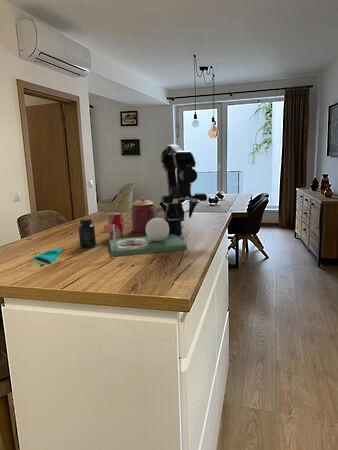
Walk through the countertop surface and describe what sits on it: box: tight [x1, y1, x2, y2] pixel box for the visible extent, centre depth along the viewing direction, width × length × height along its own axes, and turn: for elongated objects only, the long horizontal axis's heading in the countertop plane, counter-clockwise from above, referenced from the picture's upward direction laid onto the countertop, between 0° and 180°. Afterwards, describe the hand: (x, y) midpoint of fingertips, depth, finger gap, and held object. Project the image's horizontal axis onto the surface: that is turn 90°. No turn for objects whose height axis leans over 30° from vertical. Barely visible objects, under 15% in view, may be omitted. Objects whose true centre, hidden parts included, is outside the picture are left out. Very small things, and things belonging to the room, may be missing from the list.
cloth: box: [31, 247, 65, 267], centre depth 131 cm, size 26×14×2 cm, turn 172°
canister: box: [130, 196, 157, 234], centre depth 173 cm, size 13×13×18 cm
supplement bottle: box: [78, 218, 97, 249], centre depth 144 cm, size 7×7×12 cm
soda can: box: [107, 211, 125, 240], centre depth 158 cm, size 7×7×12 cm
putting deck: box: [103, 224, 188, 257], centre depth 141 cm, size 32×20×12 cm, turn 103°
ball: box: [145, 217, 169, 241], centre depth 142 cm, size 10×10×10 cm
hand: (184, 218), depth 143 cm, fingers open, 4 cm apart
